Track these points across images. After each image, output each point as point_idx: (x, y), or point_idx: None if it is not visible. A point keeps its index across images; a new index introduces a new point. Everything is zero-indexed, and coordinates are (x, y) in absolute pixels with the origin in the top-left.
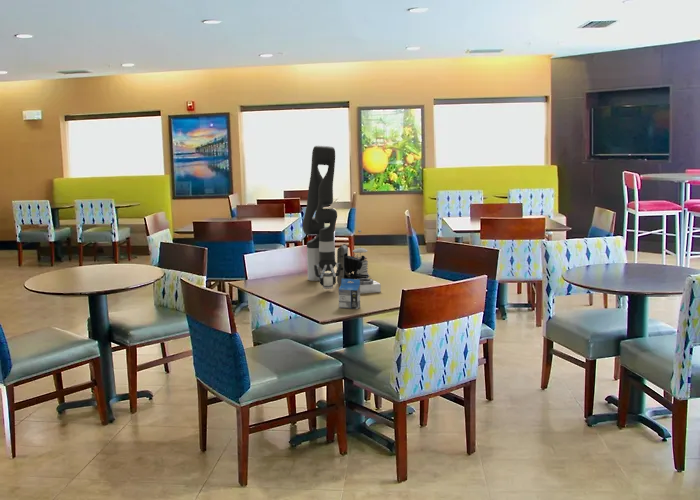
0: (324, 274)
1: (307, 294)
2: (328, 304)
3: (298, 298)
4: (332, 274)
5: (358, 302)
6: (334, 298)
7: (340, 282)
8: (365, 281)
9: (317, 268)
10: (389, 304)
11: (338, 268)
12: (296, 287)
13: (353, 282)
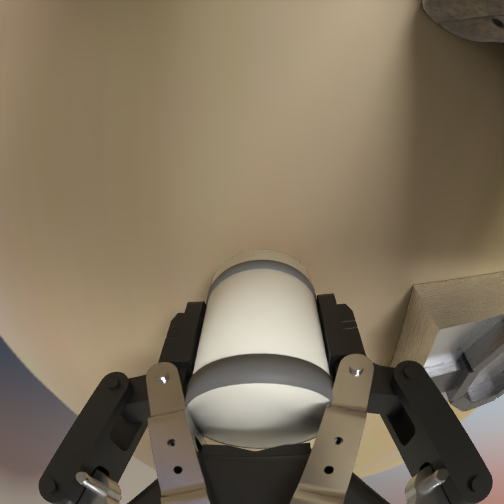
0: (213, 439)
1: (108, 315)
2: None
3: (88, 373)
4: (316, 430)
5: None
6: None
7: (452, 21)
8: (482, 402)
9: (112, 483)
10: (399, 460)
11: (410, 472)
12: (16, 41)
13: (443, 385)
